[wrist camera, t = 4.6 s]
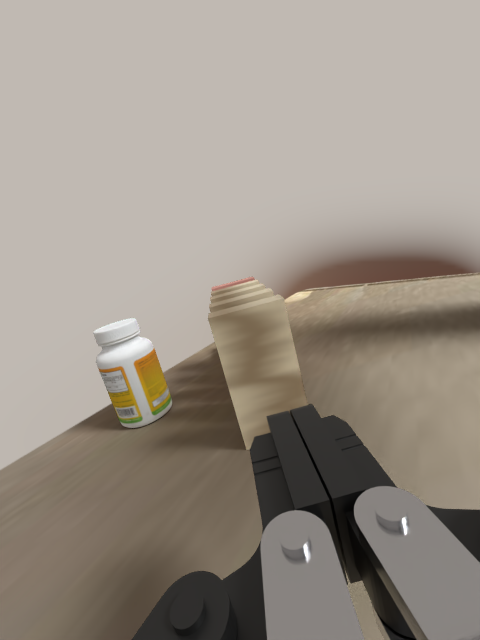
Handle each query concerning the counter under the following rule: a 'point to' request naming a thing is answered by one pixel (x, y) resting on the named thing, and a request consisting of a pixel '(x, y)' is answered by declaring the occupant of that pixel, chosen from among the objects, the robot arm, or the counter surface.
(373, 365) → the counter surface
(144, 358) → the supplement bottle
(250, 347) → the domino
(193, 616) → the robot arm
